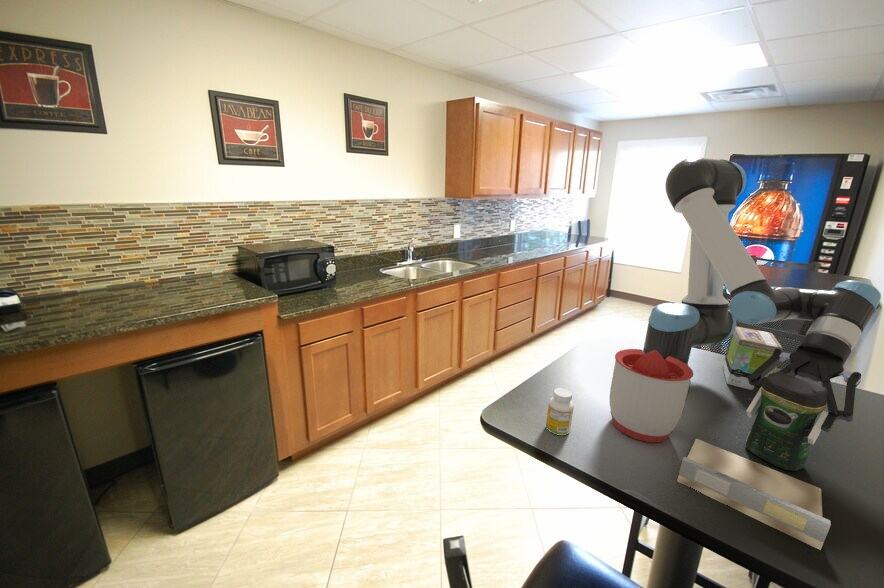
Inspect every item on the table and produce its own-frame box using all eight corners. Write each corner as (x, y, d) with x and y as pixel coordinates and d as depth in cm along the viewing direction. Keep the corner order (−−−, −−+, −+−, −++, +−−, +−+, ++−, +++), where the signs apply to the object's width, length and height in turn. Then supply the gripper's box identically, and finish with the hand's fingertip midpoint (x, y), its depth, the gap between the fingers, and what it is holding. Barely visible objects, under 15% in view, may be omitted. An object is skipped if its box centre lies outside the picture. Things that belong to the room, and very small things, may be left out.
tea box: (769, 395, 106) (784, 347, 102) (726, 384, 111) (738, 338, 108) (760, 374, 119) (773, 331, 115) (721, 366, 124) (732, 324, 120)
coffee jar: (810, 466, 78) (839, 387, 73) (791, 477, 75) (820, 394, 70) (757, 438, 86) (779, 366, 81) (737, 447, 83) (759, 371, 78)
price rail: (678, 475, 71) (682, 460, 70) (680, 471, 73) (684, 456, 72) (823, 544, 58) (830, 526, 57) (823, 538, 59) (830, 520, 58)
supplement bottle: (553, 419, 90) (558, 383, 88) (573, 430, 87) (579, 392, 84) (541, 428, 86) (546, 391, 84) (562, 440, 83) (568, 401, 80)
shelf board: (677, 481, 72) (678, 474, 72) (694, 444, 83) (696, 438, 83) (820, 550, 59) (823, 542, 58) (818, 495, 70) (821, 488, 70)
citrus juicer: (678, 420, 92) (696, 345, 87) (675, 459, 78) (697, 373, 73) (610, 399, 100) (623, 330, 95) (597, 432, 86) (611, 352, 81)
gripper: (904, 372, 73) (853, 467, 70) (766, 334, 91) (720, 408, 88) (908, 352, 69) (855, 452, 65) (763, 317, 87) (715, 393, 83)
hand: (778, 427), depth 77 cm, fingers closed on coffee jar, 9 cm apart
